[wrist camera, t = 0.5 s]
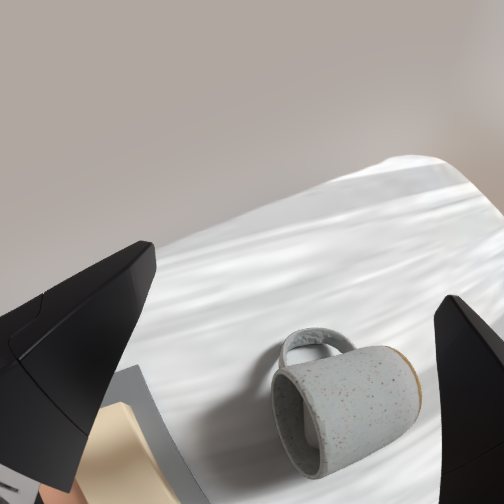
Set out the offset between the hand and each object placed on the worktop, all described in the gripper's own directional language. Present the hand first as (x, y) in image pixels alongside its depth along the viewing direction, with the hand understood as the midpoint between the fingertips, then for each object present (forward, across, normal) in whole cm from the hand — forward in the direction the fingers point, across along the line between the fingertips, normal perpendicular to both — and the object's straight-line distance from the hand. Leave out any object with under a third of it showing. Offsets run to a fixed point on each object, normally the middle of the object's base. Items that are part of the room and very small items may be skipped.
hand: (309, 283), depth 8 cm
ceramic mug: (+4, -5, +15) cm, 16 cm away
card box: (-4, +8, +16) cm, 19 cm away
